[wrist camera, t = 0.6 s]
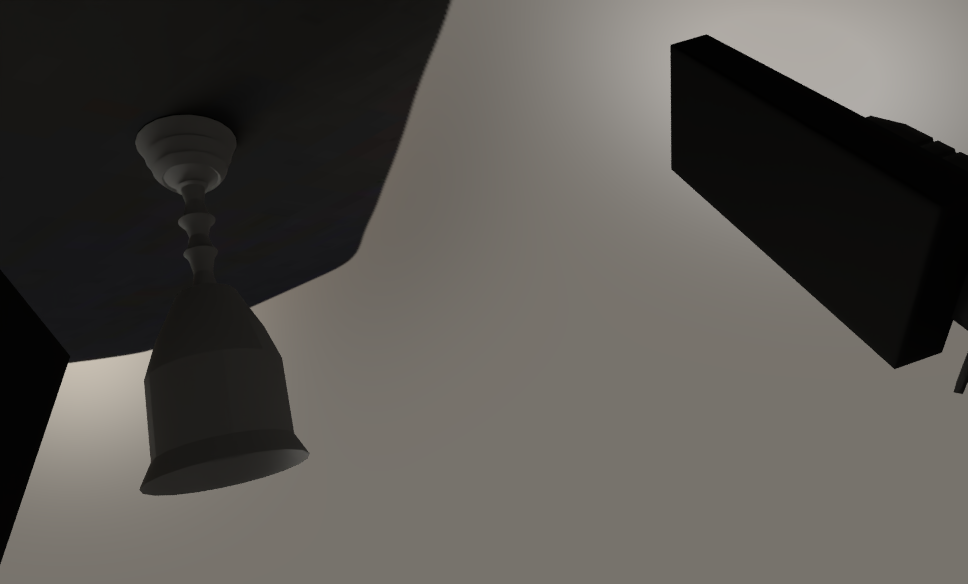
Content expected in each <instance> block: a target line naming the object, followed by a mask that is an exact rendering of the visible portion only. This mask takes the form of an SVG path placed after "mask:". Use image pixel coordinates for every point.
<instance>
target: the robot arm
mask: <svg viewBox="0 0 968 584" xmlns="http://www.w3.org/2000/svg"><path fill="white" fill-rule="evenodd" d="M671 159H672V160H671V168H672V170H673V171H674V172H675V173H676V174H678V175H679V176H680V177H681V178H682V179H683V180H684V181H685V182H686V183H687V184H689V185H690V186H691V187H692V188H693V189H694V190H695V191H696V192H697V193H699V194H700V195H701V196H702V197H703V198H704V199H705V200H706V201H708V202H709V203H710V204H711V205H712V206H713V207H714V208H716V209H717V210H718V211H719V212H720V213H721V214H722V215H723V216H724V217H725V218H727V219H728V220H729V221H730V222H731V223H732V224H733V225H734V226H736V227H737V228H738V229H739V230H740V231H741V232H742V233H743V234H744V235H745V236H747V237H748V238H749V239H750V240H751V241H752V242H753V243H754V244H756V245H757V246H758V247H759V248H760V249H761V250H762V251H763V252H765V253H766V254H767V255H768V256H769V257H770V258H771V259H772V260H773V261H775V262H776V263H777V264H778V265H779V266H780V267H781V268H782V269H783V270H785V271H786V272H787V273H788V274H789V275H790V276H791V277H792V278H793V279H795V280H796V281H797V282H798V283H799V284H800V285H801V286H802V287H804V288H805V289H806V290H807V291H808V292H809V293H810V294H811V295H812V296H814V297H815V298H816V299H817V300H818V301H819V302H820V303H821V304H823V305H824V306H825V307H826V308H827V309H828V310H829V311H831V313H833V314H834V315H835V316H836V317H837V318H838V319H839V320H840V321H841V322H843V323H844V324H845V325H846V326H847V327H848V328H849V329H850V330H852V331H853V332H854V333H855V334H856V335H857V336H858V337H859V338H861V339H862V340H863V341H864V342H865V343H866V344H867V345H868V346H870V347H871V348H872V349H873V350H874V351H875V352H876V353H877V354H878V355H879V356H881V357H882V358H883V359H884V360H885V361H886V362H887V363H888V364H890V365H891V366H892V367H893V368H894V369H896V368H899V367H902V366H905V365H908V364H910V363H913V362H916V361H919V360H921V359H925V358H927V357H930V356H933V355H936V354H938V353H941V352H942V350H943V348H944V345H945V341H946V339H947V336H948V333H949V330H950V328H951V325H952V322H953V320H954V321H956V322H957V323H958V324H960V325H961V326H963V327H964V328H965V329H966V330H968V155H966V154H964V153H962V152H959V153H956V152H955V149H954V148H952V147H950V146H948V145H946V144H944V143H942V142H940V141H935V142H934V141H933V138H932V137H930V136H928V135H926V134H924V133H922V132H920V131H918V130H916V129H914V128H912V127H910V126H908V125H906V124H902V123H898V122H894V121H890V120H886V119H882V118H878V117H873V116H869V117H866V118H865V117H863V116H861V115H859V114H857V113H855V112H853V111H852V110H850V109H848V108H846V107H844V106H842V105H840V104H838V103H836V102H834V101H832V100H831V99H829V98H827V97H824V96H823V95H821V94H819V93H817V92H815V91H813V90H811V89H809V88H808V87H806V86H803V85H802V84H800V83H798V82H796V81H794V80H792V79H791V78H789V77H787V76H785V75H783V74H781V73H779V72H777V71H775V70H773V69H772V68H770V67H768V66H766V65H764V64H762V63H760V62H758V61H756V60H754V59H752V58H750V57H749V56H747V55H745V54H743V53H741V52H739V51H737V50H735V49H733V48H732V47H730V46H728V45H725V44H724V43H722V42H720V41H718V40H716V39H714V38H713V37H711V36H709V35H703V36H700V37H696V38H693V39H689V40H686V41H682V42H679V43H676V44H672V45H671ZM69 358H70V355H69V354H68V353H67V352H66V351H65V349H64V348H63V347H62V346H61V344H60V343H59V342H58V341H57V339H56V338H55V337H54V336H53V334H52V333H51V332H50V331H49V329H48V328H47V327H46V326H45V324H44V323H43V322H42V321H41V320H40V318H39V317H38V316H37V315H36V313H35V312H34V311H33V310H32V308H31V307H30V306H29V305H28V303H27V302H26V301H25V300H24V298H23V297H22V296H21V295H20V293H19V292H18V291H17V290H16V289H15V287H14V286H13V285H12V284H11V282H10V281H9V280H8V279H7V277H6V276H5V275H4V274H3V272H2V271H1V270H0V564H1V560H2V558H3V555H4V551H5V549H6V546H7V542H8V540H9V537H10V534H11V531H12V528H13V525H14V522H15V519H16V516H17V513H18V510H19V507H20V504H21V501H22V498H23V495H24V492H25V489H26V486H27V483H28V480H29V477H30V474H31V471H32V468H33V465H34V462H35V459H36V456H37V454H38V451H39V448H40V445H41V441H42V438H43V436H44V432H45V430H46V427H47V424H48V421H49V418H50V415H51V412H52V409H53V406H54V403H55V400H56V397H57V393H58V391H59V388H60V385H61V382H62V379H63V376H64V373H65V370H66V367H67V364H68V361H69ZM967 383H968V353H967V356H966V359H965V361H964V364H963V366H962V369H961V372H960V374H959V377H958V379H957V382H956V386H955V389H954V392H955V393H961V394H963V392H964V390H965V387H966V385H967Z"/></svg>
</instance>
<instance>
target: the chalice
mask: <svg viewBox="0 0 968 584" xmlns="http://www.w3.org/2000/svg"><path fill="white" fill-rule="evenodd" d="M135 144H136V147H137V151H138V152H139V153H140V155H141V156H142V157H143V158H144V159H145V162H146V165H147V166H148V167H149V168H150V169H151V170H152V172H153V175H154V178H155V179H156V180H157V181H158V182H159V183H161V184H162V185H163V186H165V187H166V188H168V189H170V190H172V191H174V192H177V193H179V194H181V195H182V196H183V198H184V201H185V203H186V204H185V211H184V215H183V216H182V217H181V218H180V219H179V221H178V224H179V225H180V226H181V227H182V228H184V229H185V230H186V232H187V234H188V236H189V238H190V239H189V244H188V248H187V249H186V251H185V252H184V257H185V258H186V259H187V260H188V261H189V262H190V265H191V268H192V271H193V273H194V279H193V286H192V287H189V288H187V289H185V290H182V291H181V292H180V293H178V294H177V296H176V297H175V299H174V302H173V304H172V306H171V308H170V311H169V313H168V315H167V317H166V320H165V322H164V324H163V326H162V328H161V331H160V333H159V335H158V337H157V340H156V342H155V345H154V348H153V352H152V355H151V359H150V362H149V366H148V369H147V373H146V376H145V379H144V385H145V397H146V409H147V421H148V432H149V445H150V456H151V464H150V466H149V468H148V471H147V473H146V475H145V478H144V480H143V482H142V485H141V487H140V491H141V492H142V493H143V494H148V495H177V494H186V493H194V492H200V491H206V490H212V489H217V488H223V487H227V486H231V485H236V484H240V483H244V482H248V481H252V480H255V479H259V478H263V477H266V476H269V475H272V474H275V473H278V472H280V471H284V470H286V469H288V468H291V467H293V466H295V465H297V464H299V463H301V462H303V461H304V460H306V459H307V458H308V456H309V452H308V451H307V450H306V448H305V447H304V446H303V444H302V443H301V442H300V440H299V439H298V438H297V437H296V435H295V434H294V430H293V424H292V418H291V411H290V405H289V400H288V393H287V387H286V380H285V374H284V368H283V362H282V357H281V355H280V354H279V352H278V350H277V348H276V347H275V345H274V343H273V341H272V340H271V338H270V336H269V334H268V333H267V331H266V329H265V327H264V326H263V324H262V323H261V322H260V321H259V319H258V318H257V317H256V315H255V314H254V313H253V312H252V310H251V309H250V308H249V306H248V305H247V304H246V303H245V301H244V300H243V299H242V297H241V296H240V295H239V293H238V292H237V291H236V290H235V289H234V288H233V287H231V286H229V285H225V284H218V283H217V282H216V280H215V277H214V274H213V266H214V258H215V257H216V255H217V253H218V250H217V249H216V248H215V247H214V246H213V245H212V243H211V241H210V239H209V237H208V235H209V230H210V227H211V226H212V225H213V224H214V223H215V218H214V216H213V215H211V214H209V213H208V211H207V209H206V206H205V204H204V196H205V193H206V192H209V191H211V190H213V189H215V188H216V187H217V186H218V185H219V184H220V183H221V182H222V181H223V180H224V178H225V177H226V175H227V172H228V171H227V169H228V167H229V165H230V163H231V161H232V158H231V156H232V155H233V153H234V151H235V149H236V147H237V144H236V137H235V136H234V134H233V133H232V131H231V130H230V129H229V128H228V127H226V126H225V125H223V124H222V123H221V122H218V121H216V120H213V119H210V118H207V117H202V116H195V115H173V116H169V117H164V118H160V119H157V120H155V121H153V122H151V123H149V124H147V125H145V126H144V127H143V129H142V130H141V131H140V132H139V133H138V134H137V138H136V141H135Z"/></svg>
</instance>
